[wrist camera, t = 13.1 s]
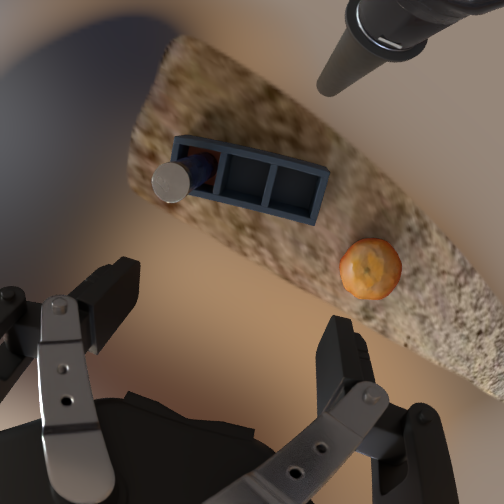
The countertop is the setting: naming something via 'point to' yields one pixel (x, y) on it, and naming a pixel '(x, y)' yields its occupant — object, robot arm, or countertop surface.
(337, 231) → the countertop surface
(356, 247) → the fruit
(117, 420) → the robot arm
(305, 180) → the rack
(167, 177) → the thermos
